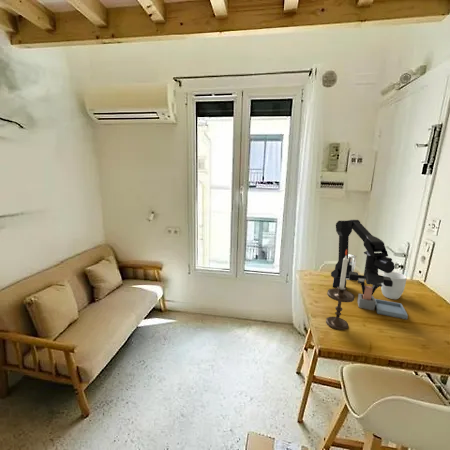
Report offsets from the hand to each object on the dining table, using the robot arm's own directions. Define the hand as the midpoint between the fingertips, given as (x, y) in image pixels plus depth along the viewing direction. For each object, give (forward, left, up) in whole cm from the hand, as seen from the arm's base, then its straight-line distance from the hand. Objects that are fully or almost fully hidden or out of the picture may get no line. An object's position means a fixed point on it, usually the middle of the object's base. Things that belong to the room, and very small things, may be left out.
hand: (367, 294), depth 132 cm
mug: (+15, +19, -7) cm, 25 cm away
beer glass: (-6, +37, -7) cm, 38 cm away
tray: (+11, 0, -7) cm, 12 cm away
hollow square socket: (0, 0, -7) cm, 7 cm away
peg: (0, 0, -6) cm, 6 cm away
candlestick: (-14, -23, -7) cm, 28 cm away
